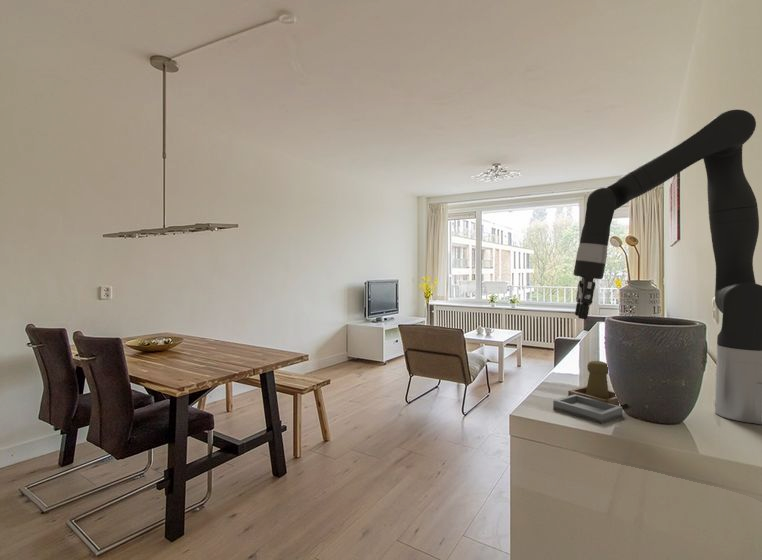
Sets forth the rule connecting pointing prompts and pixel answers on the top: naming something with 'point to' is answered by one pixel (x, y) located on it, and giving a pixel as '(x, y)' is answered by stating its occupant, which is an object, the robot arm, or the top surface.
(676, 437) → the top surface
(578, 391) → the socket block
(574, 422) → the top surface
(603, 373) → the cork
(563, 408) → the tray
